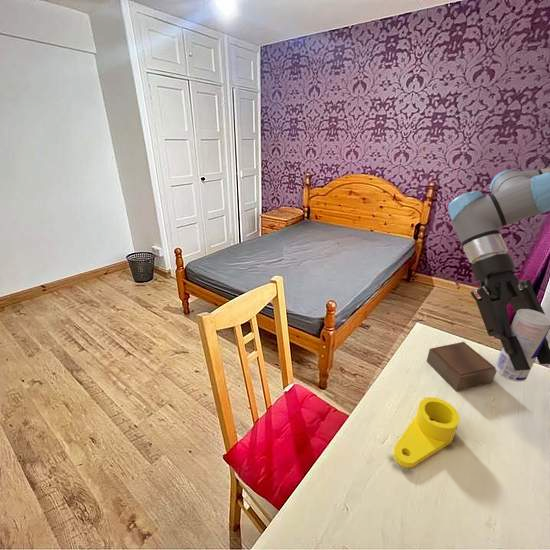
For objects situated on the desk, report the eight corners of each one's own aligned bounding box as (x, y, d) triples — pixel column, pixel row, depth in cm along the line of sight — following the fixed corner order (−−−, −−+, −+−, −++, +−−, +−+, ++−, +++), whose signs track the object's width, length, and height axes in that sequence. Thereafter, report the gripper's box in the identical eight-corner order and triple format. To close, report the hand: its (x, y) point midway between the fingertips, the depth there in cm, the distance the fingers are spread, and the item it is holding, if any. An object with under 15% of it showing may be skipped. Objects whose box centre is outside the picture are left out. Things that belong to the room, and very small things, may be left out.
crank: (426, 408, 78) (431, 391, 76) (460, 432, 72) (466, 415, 70) (382, 448, 69) (385, 430, 67) (415, 479, 63) (421, 461, 60)
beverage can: (530, 385, 63) (558, 326, 56) (498, 380, 65) (522, 321, 58) (520, 367, 68) (545, 310, 61) (491, 362, 69) (512, 306, 62)
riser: (459, 354, 96) (463, 341, 94) (492, 382, 85) (497, 368, 83) (426, 361, 93) (429, 348, 91) (455, 391, 83) (460, 377, 81)
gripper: (508, 259, 73) (552, 358, 66) (441, 270, 69) (481, 376, 62) (538, 247, 66) (592, 356, 59) (465, 257, 62) (514, 376, 55)
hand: (535, 366), depth 60 cm, fingers closed on beverage can, 6 cm apart
